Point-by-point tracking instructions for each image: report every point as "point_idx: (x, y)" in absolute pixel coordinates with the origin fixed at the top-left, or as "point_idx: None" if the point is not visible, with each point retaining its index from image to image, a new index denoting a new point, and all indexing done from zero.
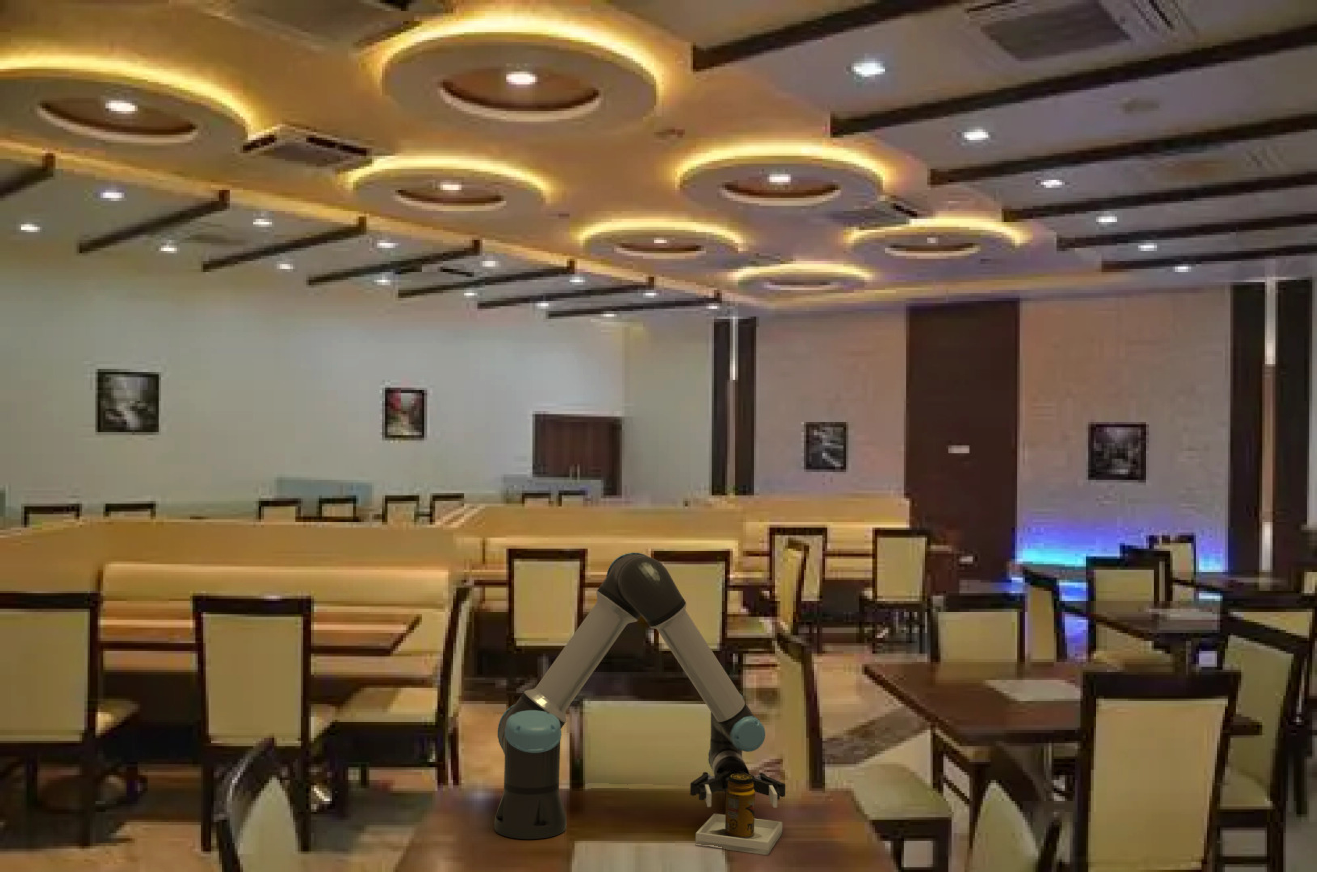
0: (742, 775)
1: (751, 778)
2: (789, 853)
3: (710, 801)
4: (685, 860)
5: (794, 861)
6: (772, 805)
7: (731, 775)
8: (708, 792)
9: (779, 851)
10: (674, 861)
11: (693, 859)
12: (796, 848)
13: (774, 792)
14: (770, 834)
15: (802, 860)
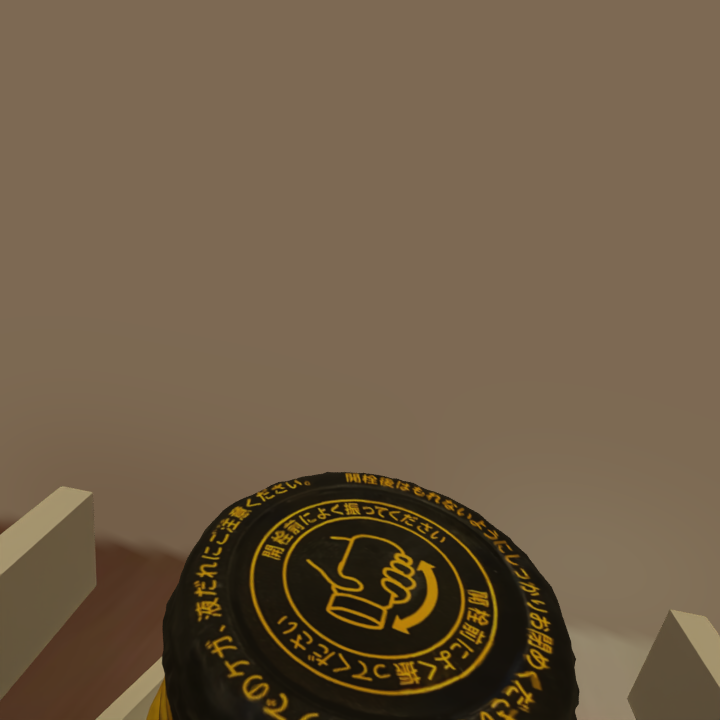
0: (328, 650)
1: (257, 493)
2: (113, 631)
3: (650, 666)
4: (611, 645)
5: (165, 550)
6: (57, 631)
7: (537, 649)
8: (717, 647)
9: (143, 667)
10: (653, 643)
11: (580, 649)
12: (6, 694)
13: (37, 524)
14: (144, 695)
15: (124, 552)
